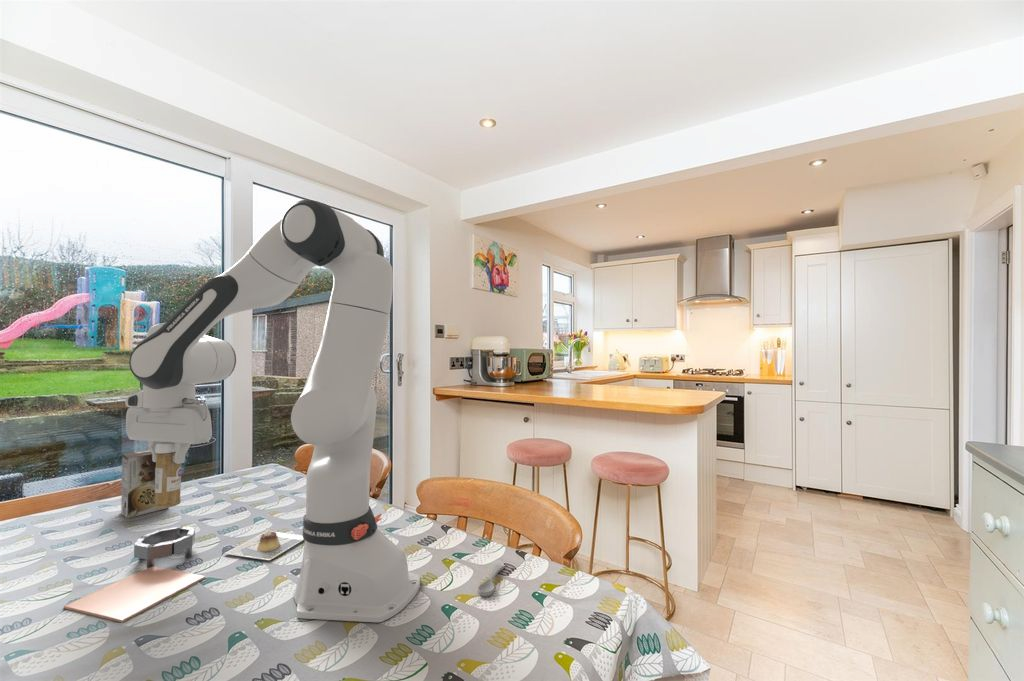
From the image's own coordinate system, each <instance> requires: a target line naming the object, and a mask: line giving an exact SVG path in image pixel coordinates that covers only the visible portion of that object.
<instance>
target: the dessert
mask: <svg viewBox="0 0 1024 681" xmlns="http://www.w3.org/2000/svg"><path fill="white" fill-rule="evenodd" d="M279 538H282V539H290V540H299V541H297V542H296V543H294V544H293V545H291V546H289V547H287V548H286V549H284V550H282V551H280V552H279V553H277V554H276V555H274V556H272V557H271V558H265V557H257V556H250V555H244V554H236V553H238V552H240V551H242V550H243V549H245V548H247V547H249V546H251V545H253V544H255V543H256V542H258V545H257V547H256V550H257V551H258V552H270V551H274V550H276V549H277V548H279V547H280V546H281V544H280V541H279ZM303 541H305V540H304V538H303V534H297V533H296V534H295V533H289V532H282V531H273V530H270V528H266V530H265V531H264V532H262V533H260V534H258V535H256V536H254V537H252V538H251V539H248V540H247V541H244V542H243V543H241V544H239V545H237V546H235V547H233V548H231V549H229V550H227V551H226V552H223V554H224V555H228V556H233V557H241V558H245V559H246V558H247V559H254V560H255V559H256V560H260V561H261V560H262V561H268V562H269V561H272V560H274V559H275V558H277V557H278V556H280V555H282V554H283V553H285V552H287V551H288V550H290V549H292V548H293V547H295V546H297V545H298V544H300V543H301V542H303Z"/></svg>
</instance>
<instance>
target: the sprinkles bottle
mask: <svg viewBox="0 0 1024 681" xmlns="http://www.w3.org/2000/svg"><path fill="white" fill-rule="evenodd" d="M176 451H177V448H175V443H171V442H162V443H158V444H156V446H155V453H156V468H155V505H154V507H155V508H158V509H162V508H166V509H170V508H173V507H176V506H178V505H180V504H181V502H182V500H181V488H182V463H180V464H174V463H172V455H175V453H176ZM162 510H163V509H162Z"/></svg>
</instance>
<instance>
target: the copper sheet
mask: <svg viewBox="0 0 1024 681" xmlns="http://www.w3.org/2000/svg"><path fill="white" fill-rule="evenodd" d="M204 579H206V575H201V574H197V573H196V574H195V573H192V572H191V573H190V572H186V571H185V572H184V571H180V570H175V569H170V568H163V567H159V566H155V565H154V566H153V567H150V568H147V569H146V568H144V569H141V571H138V572H136V573H133V574H131V575H129V576H127V577H125V578H122V579H120V580H118V581H115V582H114V583H110V584H109V585H107V586H105V587H102V588H101V589H98V590H96V591H93V592H92V593H89V594H87V595H85V596H83V597H81V598H78V599H76V600H74V601H72V602H69V603H67V604H65V605H63V609H66V610H69V611H74V612H78V613H80V614H81V613H82V614H86V615H90V616H93V617H98V618H102V619H106V620H110V621H115V622H119V623H124V622H126V621H128V620H129V619H131V618H134V617H136V616H137V615H139V614H141V613H143V612H145V611H146V610H149V609H150V608H152V607H154V606H156V605H158V604H160V603H161V602H163V601H165V600H167V599H170V598H172V596H175V595H176V594H178V593H180V592H182V591H184V590H185V589H187V588H189V587H191V586H194V585H196V584H197V583H199V582H201V581H202V580H204Z"/></svg>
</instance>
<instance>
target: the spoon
mask: <svg viewBox="0 0 1024 681" xmlns="http://www.w3.org/2000/svg"><path fill="white" fill-rule="evenodd" d="M504 568H505V565H503V564H497V563H496V564H495V565H494V567H493V569H492V570H491V572H490V574H489V576H488V578H487V579H486V580H485V581H484V582H483V583H481V584H479V586H478V588H477V591H478V592H477V593H478V594H479V595H480V597H484V598H486V597H490V596H491V595H492V594H494V592H495V584H494V579H495V578H496V577H497V575H498V574H499V573H500V572H501V571H503V570H504Z"/></svg>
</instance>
